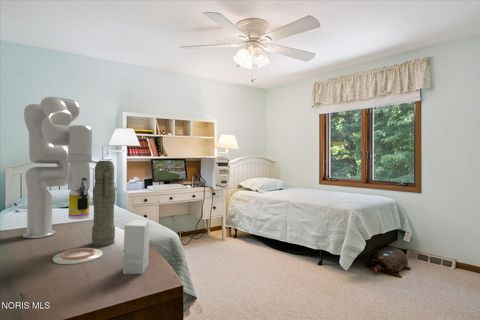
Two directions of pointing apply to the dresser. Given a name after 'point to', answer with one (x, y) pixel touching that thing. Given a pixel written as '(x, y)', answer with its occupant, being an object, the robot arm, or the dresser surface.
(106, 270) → the dresser surface
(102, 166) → the olive tall rounded piece
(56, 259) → the ring stand
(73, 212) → the supplement bottle
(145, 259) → the skincare box
